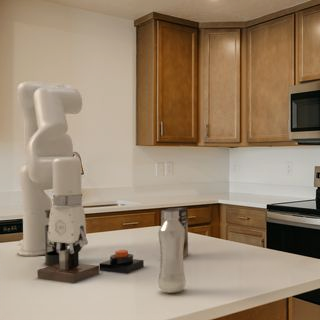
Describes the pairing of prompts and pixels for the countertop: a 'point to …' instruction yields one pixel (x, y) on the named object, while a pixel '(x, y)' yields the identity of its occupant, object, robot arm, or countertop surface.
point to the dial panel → (68, 273)
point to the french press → (51, 256)
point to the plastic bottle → (171, 253)
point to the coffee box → (184, 221)
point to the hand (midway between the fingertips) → (68, 265)
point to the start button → (121, 253)
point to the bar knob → (64, 259)
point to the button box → (121, 264)
